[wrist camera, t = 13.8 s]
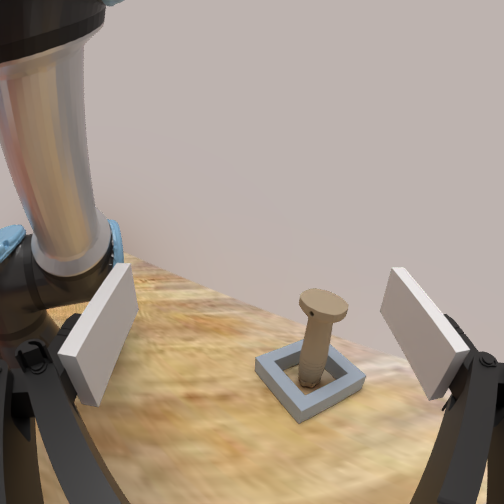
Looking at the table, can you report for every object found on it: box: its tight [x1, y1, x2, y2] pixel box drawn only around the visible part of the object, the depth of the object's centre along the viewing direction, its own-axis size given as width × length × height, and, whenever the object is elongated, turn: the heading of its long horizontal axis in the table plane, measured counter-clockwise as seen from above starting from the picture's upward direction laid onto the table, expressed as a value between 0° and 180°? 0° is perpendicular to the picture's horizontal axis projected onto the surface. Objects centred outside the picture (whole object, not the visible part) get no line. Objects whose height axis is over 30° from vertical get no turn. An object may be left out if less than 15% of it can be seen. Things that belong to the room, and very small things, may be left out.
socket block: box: [255, 339, 366, 424], centre depth 44 cm, size 12×12×3 cm
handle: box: [298, 288, 348, 388], centre depth 42 cm, size 5×6×15 cm
